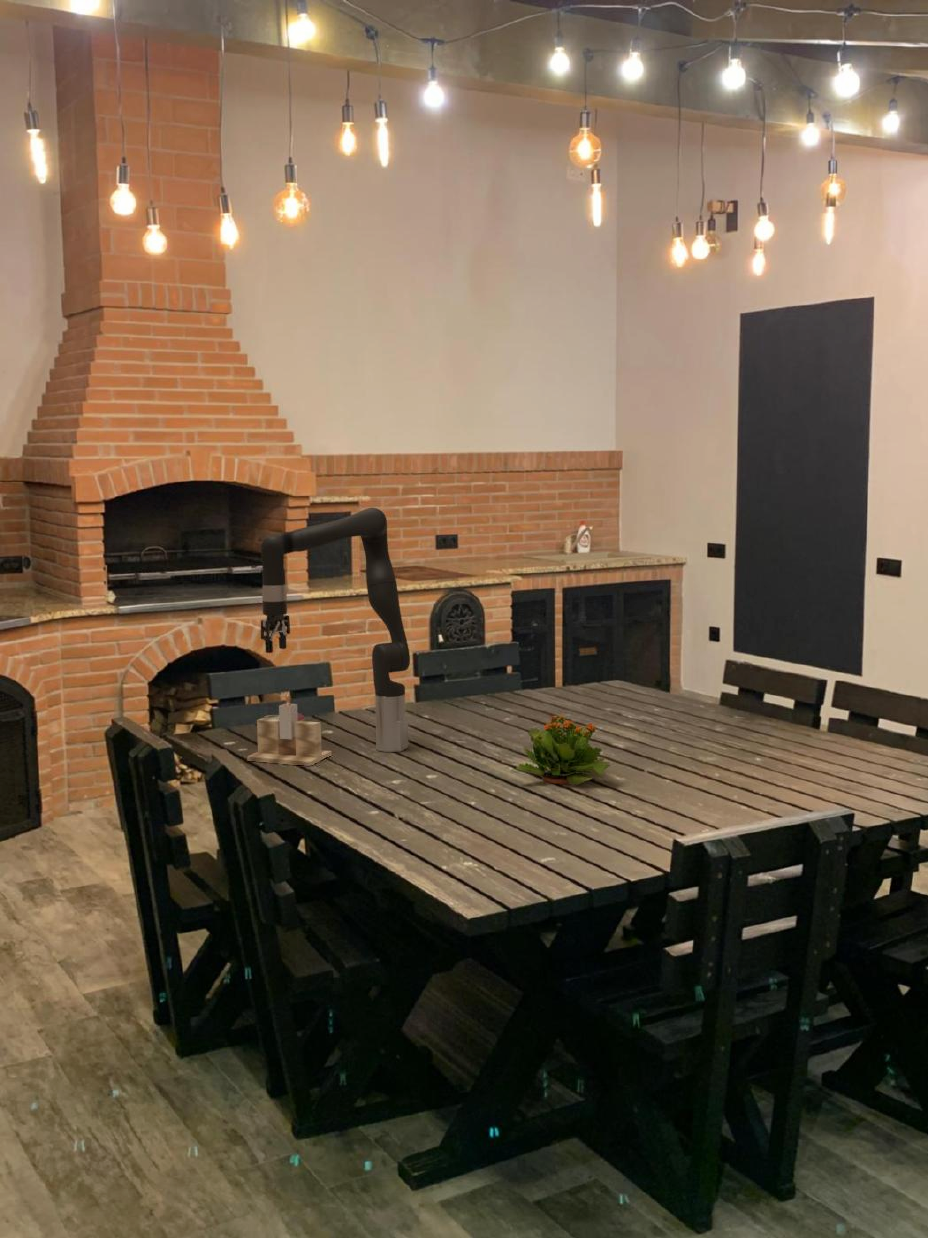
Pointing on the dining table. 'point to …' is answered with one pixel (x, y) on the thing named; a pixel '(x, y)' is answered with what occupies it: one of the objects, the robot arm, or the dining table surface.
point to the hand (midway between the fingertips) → (276, 650)
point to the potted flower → (563, 753)
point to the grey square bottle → (287, 719)
